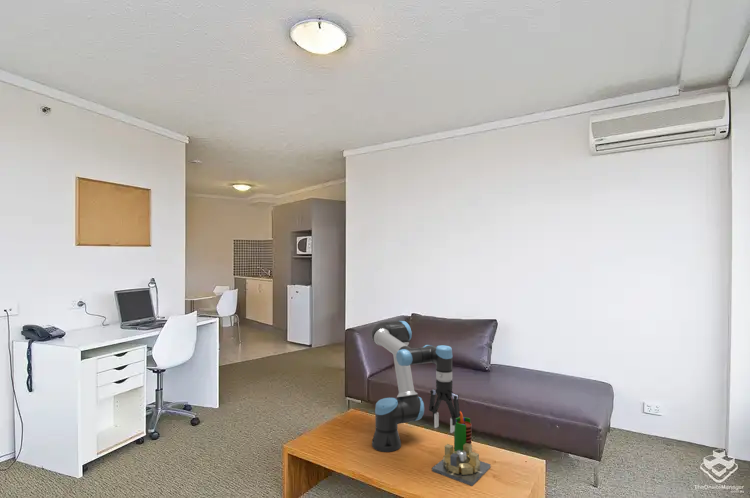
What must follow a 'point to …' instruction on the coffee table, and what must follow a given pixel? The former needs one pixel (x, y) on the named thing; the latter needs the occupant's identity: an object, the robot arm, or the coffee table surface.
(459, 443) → the motor
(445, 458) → the ring nut
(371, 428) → the coffee table surface
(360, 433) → the coffee table surface
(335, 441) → the coffee table surface
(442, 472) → the flange plate
